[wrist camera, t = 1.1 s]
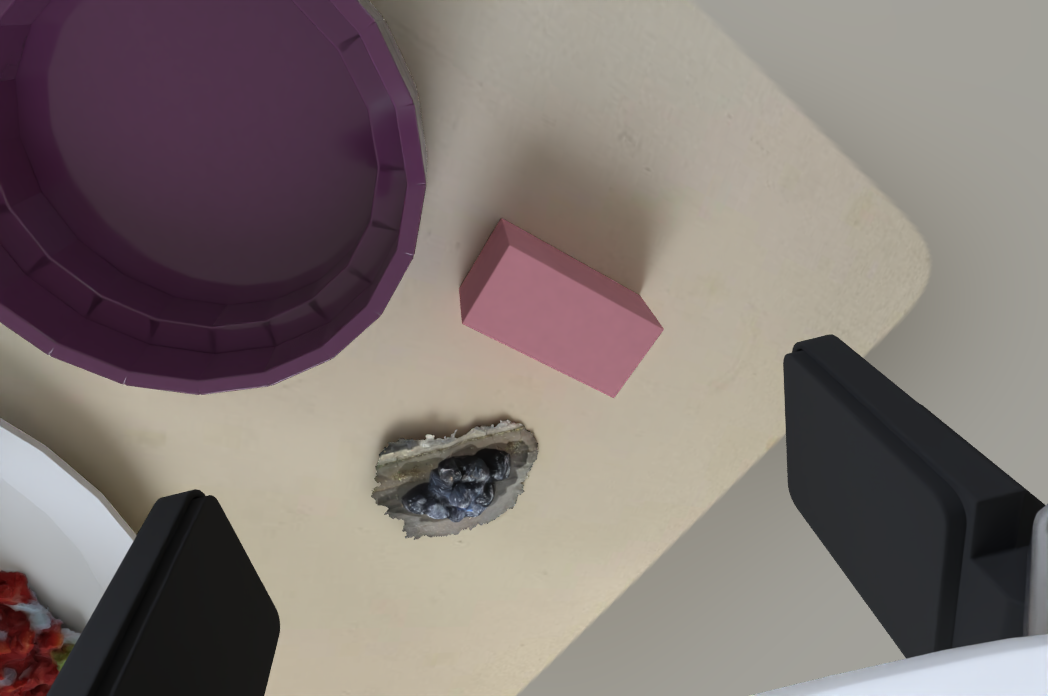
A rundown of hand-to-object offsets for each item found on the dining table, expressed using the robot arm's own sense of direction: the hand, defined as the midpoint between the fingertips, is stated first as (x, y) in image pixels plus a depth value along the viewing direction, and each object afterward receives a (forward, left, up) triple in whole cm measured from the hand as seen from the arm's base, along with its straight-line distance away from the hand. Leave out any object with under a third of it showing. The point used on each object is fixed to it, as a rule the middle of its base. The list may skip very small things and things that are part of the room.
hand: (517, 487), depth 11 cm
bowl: (+2, -9, -18) cm, 20 cm away
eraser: (+1, +5, -18) cm, 18 cm away
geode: (+11, +6, -18) cm, 22 cm away
